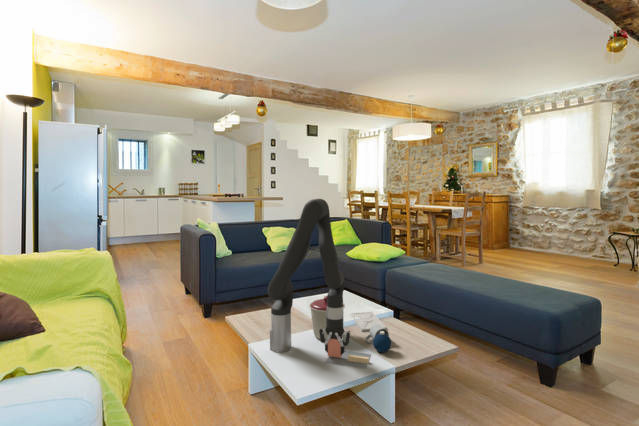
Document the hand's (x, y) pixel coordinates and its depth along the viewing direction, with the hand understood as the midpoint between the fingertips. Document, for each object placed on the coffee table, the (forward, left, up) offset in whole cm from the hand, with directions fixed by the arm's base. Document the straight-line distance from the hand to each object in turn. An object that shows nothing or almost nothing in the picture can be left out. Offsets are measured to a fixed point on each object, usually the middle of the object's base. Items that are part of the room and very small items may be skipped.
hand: (334, 352), depth 163 cm
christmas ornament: (+19, +13, -3) cm, 23 cm away
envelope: (+6, +47, -3) cm, 48 cm away
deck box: (0, 0, -1) cm, 1 cm away
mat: (+6, +1, -3) cm, 7 cm away
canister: (-10, +22, -3) cm, 24 cm away
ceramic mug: (+15, +23, -3) cm, 28 cm away
